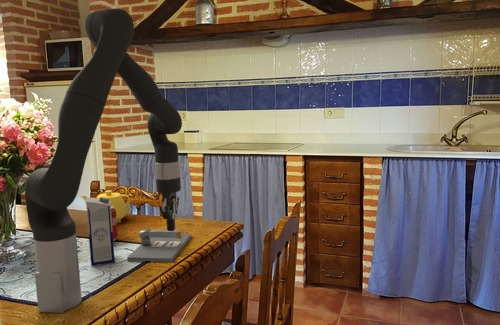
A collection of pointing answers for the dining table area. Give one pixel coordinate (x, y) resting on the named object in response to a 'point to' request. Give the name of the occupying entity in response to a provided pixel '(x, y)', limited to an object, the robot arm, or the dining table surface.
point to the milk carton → (100, 231)
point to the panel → (159, 249)
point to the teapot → (115, 203)
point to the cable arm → (161, 233)
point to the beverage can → (114, 223)
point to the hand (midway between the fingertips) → (171, 230)
